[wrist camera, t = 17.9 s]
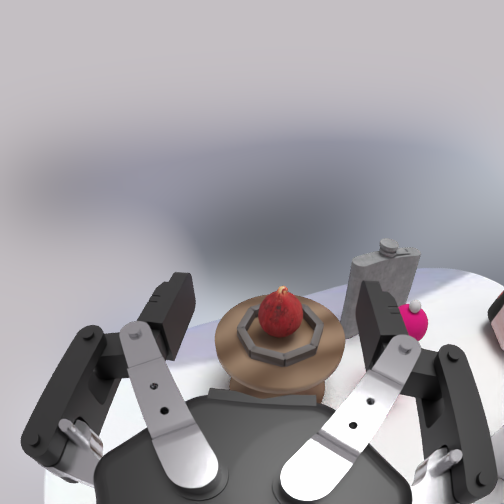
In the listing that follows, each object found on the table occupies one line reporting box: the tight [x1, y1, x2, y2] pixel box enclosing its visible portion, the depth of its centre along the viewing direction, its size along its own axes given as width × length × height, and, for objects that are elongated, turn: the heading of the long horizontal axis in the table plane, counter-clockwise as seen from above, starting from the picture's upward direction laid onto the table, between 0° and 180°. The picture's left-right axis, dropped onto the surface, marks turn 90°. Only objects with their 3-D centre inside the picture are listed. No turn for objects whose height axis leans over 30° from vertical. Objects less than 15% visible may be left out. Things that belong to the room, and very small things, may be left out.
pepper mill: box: [398, 300, 428, 341], centre depth 39 cm, size 7×7×20 cm
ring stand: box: [215, 295, 345, 403], centre depth 42 cm, size 18×18×16 cm
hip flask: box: [340, 239, 421, 339], centre depth 54 cm, size 16×4×20 cm, turn 103°
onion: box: [258, 286, 303, 338], centre depth 37 cm, size 6×6×8 cm
